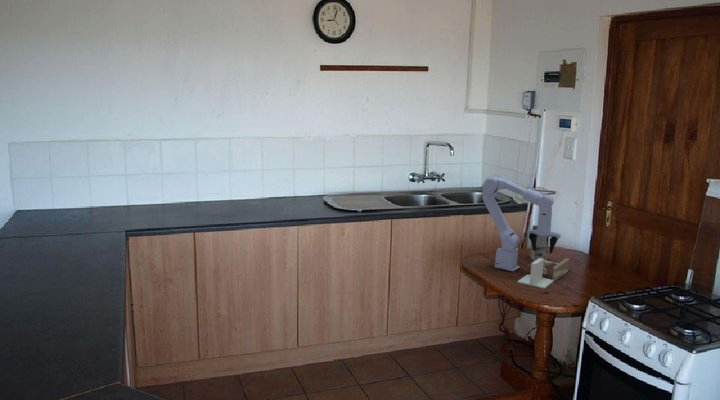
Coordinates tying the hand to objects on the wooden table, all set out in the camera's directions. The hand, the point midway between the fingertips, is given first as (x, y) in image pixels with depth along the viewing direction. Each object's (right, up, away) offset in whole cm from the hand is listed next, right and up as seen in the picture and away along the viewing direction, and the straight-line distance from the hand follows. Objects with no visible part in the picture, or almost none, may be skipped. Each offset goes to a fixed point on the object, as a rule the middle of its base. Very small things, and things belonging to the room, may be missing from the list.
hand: (542, 251), depth 274 cm
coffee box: (+5, -6, +24) cm, 25 cm away
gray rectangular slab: (-6, -12, -10) cm, 17 cm away
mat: (-6, -13, -10) cm, 17 cm away
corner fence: (+3, -10, +3) cm, 11 cm away
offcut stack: (0, -10, +5) cm, 11 cm away
